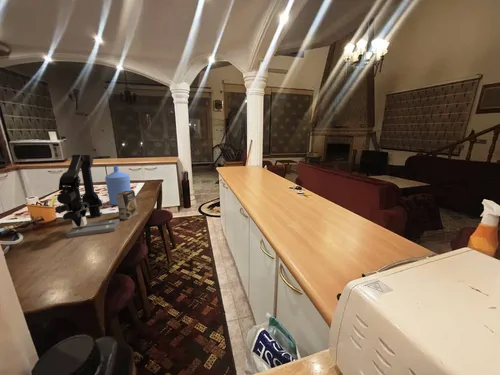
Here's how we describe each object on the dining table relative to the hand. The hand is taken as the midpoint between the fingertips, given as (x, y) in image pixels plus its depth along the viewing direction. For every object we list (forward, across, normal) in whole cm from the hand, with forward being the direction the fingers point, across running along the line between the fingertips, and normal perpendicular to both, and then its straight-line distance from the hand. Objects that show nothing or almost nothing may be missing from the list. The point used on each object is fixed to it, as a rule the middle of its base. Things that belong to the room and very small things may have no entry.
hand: (80, 224), depth 121 cm
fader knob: (+1, 0, 0) cm, 1 cm away
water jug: (+4, -47, +11) cm, 49 cm away
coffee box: (+4, -14, +21) cm, 26 cm away
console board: (+4, 0, +6) cm, 7 cm away
